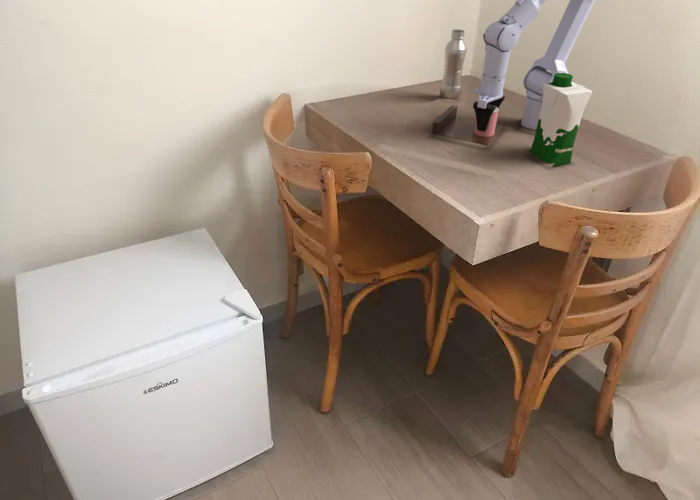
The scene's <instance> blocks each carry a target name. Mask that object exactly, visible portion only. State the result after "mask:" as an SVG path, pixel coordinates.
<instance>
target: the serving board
mask: <svg viewBox="0 0 700 500" xmlns="http://www.w3.org/2000/svg"><path fill="white" fill-rule="evenodd" d="M458 107H459V106H458V105H455V104H452V105H451V106H450V107H449V108H447V109H446V110H445V111H444V112H443V113H442V114H441V115H440V116H438V117H437V118H436V119H434V121H433V122H432V129H431V134H433V135H438V136H442V137H446V138H451V139H455V140H459V141H465V142H469V143H473V144H478V145H482V146H486V147H488V146H489V145H490V144H491V142H492V141H493V140H494V139H495V138H496V136H497V135H498V134H499V133H500V132H501V130H502V129H503V128H504V125H500V124H496V127H495V132H494V135H493V136H490V137H483V136H478V135H476V134H474V132H473V131H474V125H475V119H471V118H467V117H462V116H458V115H457V114H458Z"/></svg>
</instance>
